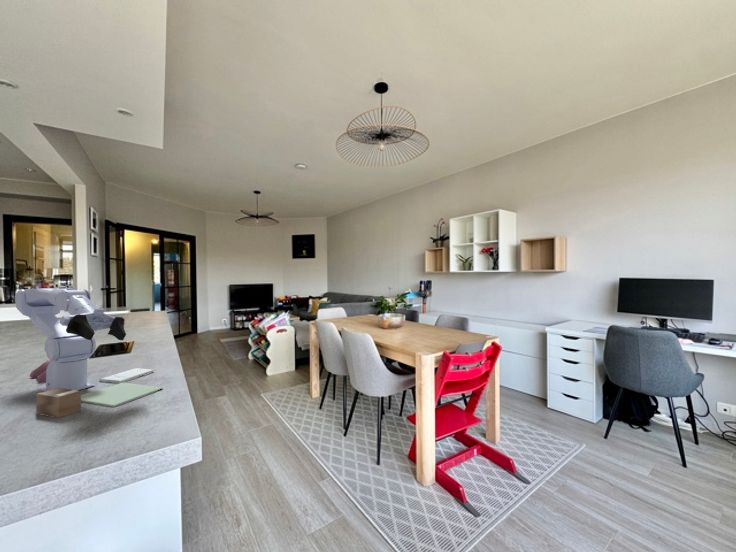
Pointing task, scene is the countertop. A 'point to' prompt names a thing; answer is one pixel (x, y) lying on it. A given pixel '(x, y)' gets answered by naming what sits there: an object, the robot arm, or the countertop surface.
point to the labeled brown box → (58, 402)
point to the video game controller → (40, 372)
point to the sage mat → (118, 394)
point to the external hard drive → (126, 375)
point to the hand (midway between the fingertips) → (108, 336)
